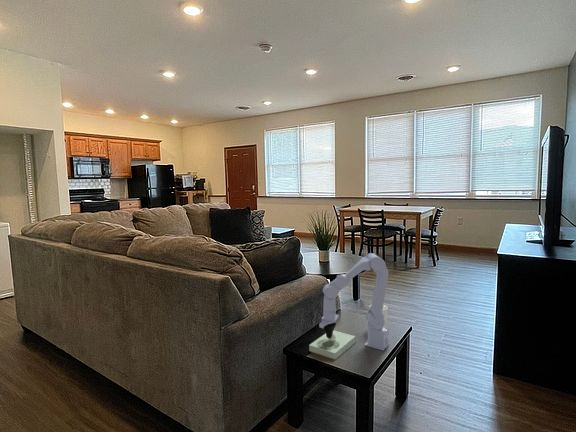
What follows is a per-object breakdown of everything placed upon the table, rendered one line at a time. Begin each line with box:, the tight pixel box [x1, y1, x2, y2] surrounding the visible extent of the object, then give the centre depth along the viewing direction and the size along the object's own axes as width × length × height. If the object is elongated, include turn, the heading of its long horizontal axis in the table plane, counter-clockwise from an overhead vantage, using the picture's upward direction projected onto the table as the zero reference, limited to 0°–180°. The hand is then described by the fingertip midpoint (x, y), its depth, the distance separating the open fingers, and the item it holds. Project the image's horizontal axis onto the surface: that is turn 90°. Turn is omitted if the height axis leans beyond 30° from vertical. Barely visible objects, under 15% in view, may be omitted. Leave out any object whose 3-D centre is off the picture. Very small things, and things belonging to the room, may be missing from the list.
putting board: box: [308, 329, 357, 360], centre depth 164 cm, size 14×20×3 cm
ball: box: [328, 333, 336, 341], centre depth 163 cm, size 4×4×4 cm
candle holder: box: [368, 303, 389, 330], centre depth 181 cm, size 10×10×12 cm
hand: (329, 337), depth 162 cm, fingers closed, pressing on ball
